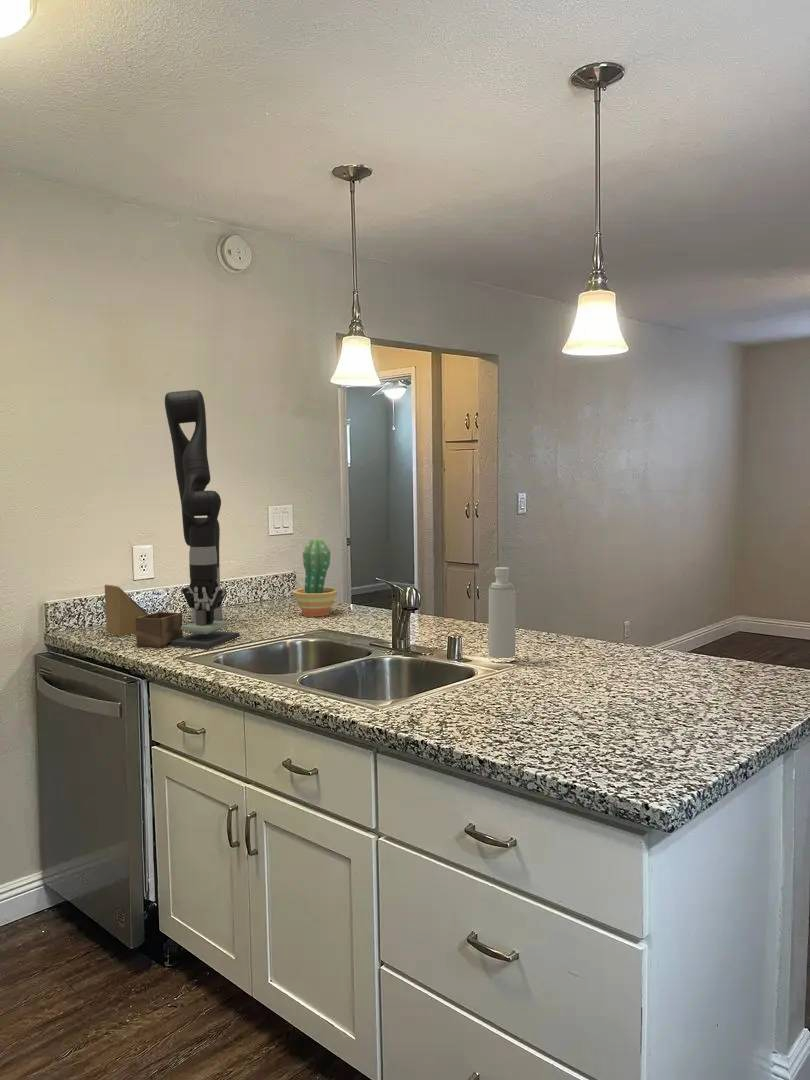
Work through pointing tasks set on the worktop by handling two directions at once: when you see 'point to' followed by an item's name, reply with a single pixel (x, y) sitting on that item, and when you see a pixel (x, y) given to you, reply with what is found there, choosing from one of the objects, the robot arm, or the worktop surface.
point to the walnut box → (158, 629)
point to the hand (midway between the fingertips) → (205, 623)
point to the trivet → (205, 639)
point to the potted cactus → (315, 581)
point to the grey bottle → (502, 615)
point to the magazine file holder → (121, 612)
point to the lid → (203, 624)
